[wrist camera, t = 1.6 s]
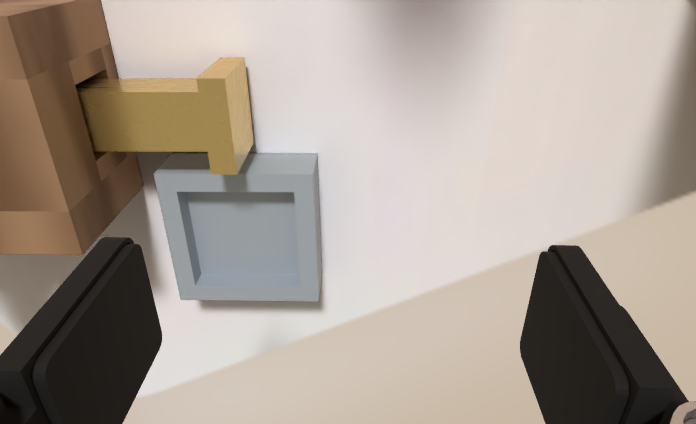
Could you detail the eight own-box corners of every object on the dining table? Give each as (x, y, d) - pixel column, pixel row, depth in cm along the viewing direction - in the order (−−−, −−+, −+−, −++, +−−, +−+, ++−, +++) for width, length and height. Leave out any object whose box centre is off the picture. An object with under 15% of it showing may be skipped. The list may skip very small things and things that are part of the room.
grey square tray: (317, 153, 27) (312, 174, 25) (322, 273, 31) (318, 301, 29) (171, 153, 27) (153, 173, 25) (194, 272, 31) (180, 299, 29)
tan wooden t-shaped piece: (244, 57, 24) (224, 78, 21) (253, 142, 26) (236, 174, 23) (98, 57, 25) (54, 78, 21) (119, 142, 27) (82, 174, 23)
